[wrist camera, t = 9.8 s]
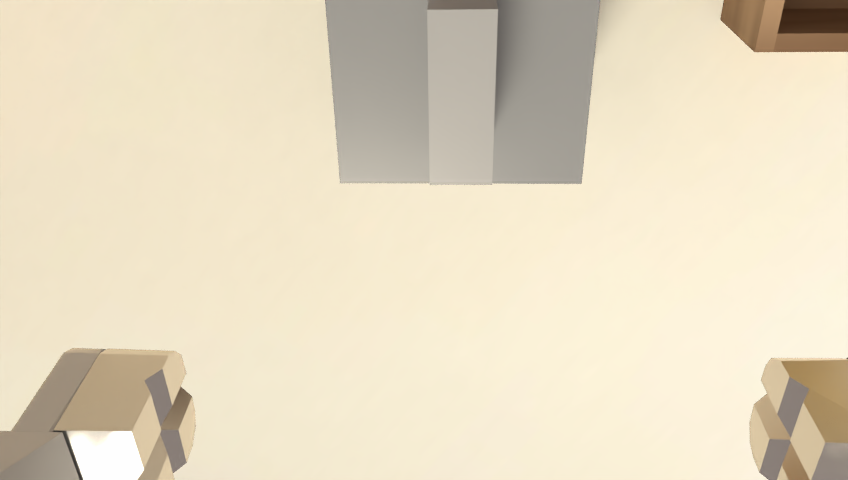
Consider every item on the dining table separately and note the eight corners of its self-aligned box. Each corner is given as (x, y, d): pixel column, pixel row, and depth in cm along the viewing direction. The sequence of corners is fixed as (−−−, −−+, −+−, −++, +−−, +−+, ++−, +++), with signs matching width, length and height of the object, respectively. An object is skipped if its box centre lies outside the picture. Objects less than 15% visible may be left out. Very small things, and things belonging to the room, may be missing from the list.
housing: (345, -103, 27) (300, -52, 19) (578, -106, 26) (628, -54, 19) (359, 114, 31) (327, 228, 23) (560, 114, 30) (595, 230, 23)
